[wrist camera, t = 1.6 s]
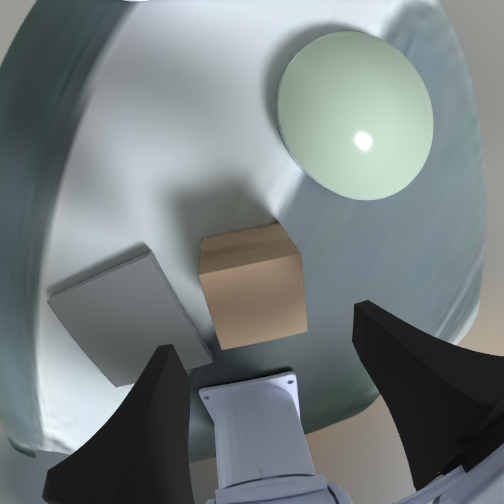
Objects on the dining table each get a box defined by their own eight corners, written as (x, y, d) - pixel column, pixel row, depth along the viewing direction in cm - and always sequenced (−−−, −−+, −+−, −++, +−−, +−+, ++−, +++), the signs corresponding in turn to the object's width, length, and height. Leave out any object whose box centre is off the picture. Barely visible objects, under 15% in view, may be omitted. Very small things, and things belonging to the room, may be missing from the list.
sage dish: (425, 186, 16) (436, 190, 15) (290, 207, 16) (296, 213, 15) (409, 45, 12) (420, 42, 11) (261, 37, 12) (264, 30, 11)
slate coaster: (213, 355, 20) (213, 362, 19) (117, 380, 20) (115, 387, 19) (151, 250, 16) (148, 256, 15) (51, 295, 16) (46, 301, 15)
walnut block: (287, 287, 18) (307, 331, 14) (219, 302, 18) (221, 349, 14) (278, 222, 16) (300, 253, 12) (202, 237, 16) (198, 274, 12)
